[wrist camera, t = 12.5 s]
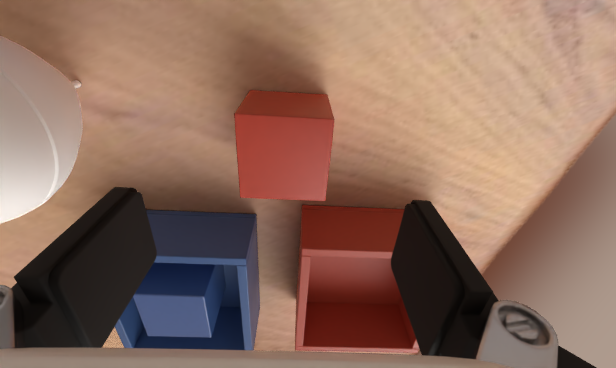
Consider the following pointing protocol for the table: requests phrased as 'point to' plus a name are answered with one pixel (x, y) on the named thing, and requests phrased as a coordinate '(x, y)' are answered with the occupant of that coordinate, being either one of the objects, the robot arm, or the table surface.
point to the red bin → (350, 282)
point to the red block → (284, 145)
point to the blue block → (180, 299)
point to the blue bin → (206, 250)
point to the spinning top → (34, 129)
